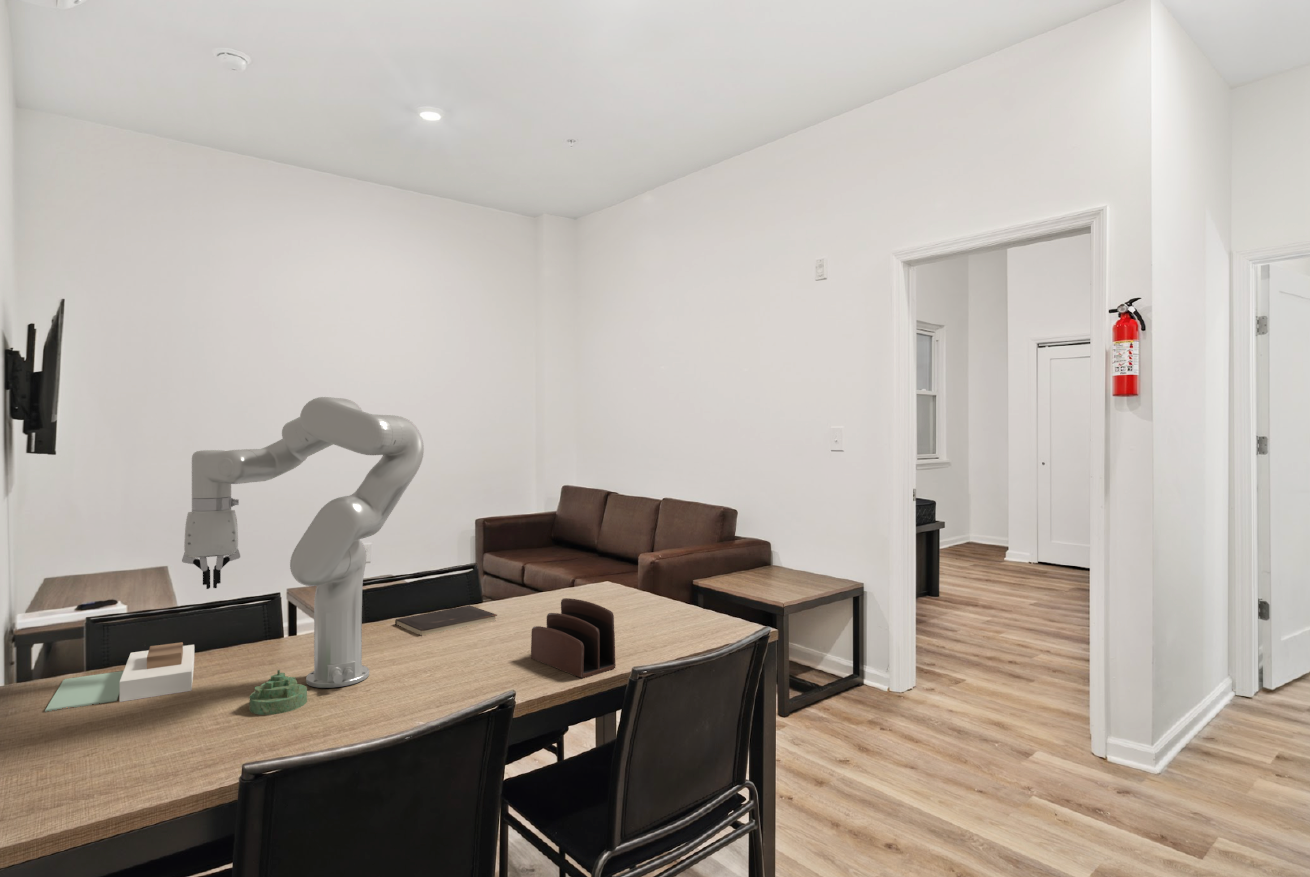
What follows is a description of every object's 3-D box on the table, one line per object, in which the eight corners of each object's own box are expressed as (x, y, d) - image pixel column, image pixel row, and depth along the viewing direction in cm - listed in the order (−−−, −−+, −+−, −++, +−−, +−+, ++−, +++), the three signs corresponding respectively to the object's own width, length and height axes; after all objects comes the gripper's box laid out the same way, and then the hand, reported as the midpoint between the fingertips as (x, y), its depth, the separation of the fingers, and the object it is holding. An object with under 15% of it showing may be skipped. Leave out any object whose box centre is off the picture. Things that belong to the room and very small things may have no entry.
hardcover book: (497, 622, 203) (497, 614, 203) (421, 638, 187) (421, 630, 187) (468, 612, 215) (468, 604, 215) (395, 626, 198) (395, 618, 198)
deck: (191, 690, 147) (191, 671, 147) (119, 702, 141) (119, 682, 141) (194, 661, 166) (194, 644, 166) (130, 670, 159) (130, 652, 159)
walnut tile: (181, 664, 151) (181, 652, 151) (146, 669, 148) (146, 657, 148) (182, 653, 159) (182, 642, 159) (150, 657, 156) (150, 646, 156)
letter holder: (563, 650, 176) (563, 593, 176) (616, 669, 162) (616, 608, 162) (530, 659, 169) (530, 600, 169) (582, 680, 155) (582, 615, 155)
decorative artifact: (316, 696, 144) (268, 696, 145) (316, 662, 144) (268, 661, 145) (289, 716, 134) (238, 715, 135) (289, 679, 134) (238, 678, 135)
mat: (116, 700, 141) (116, 698, 141) (45, 712, 135) (45, 710, 135) (127, 672, 158) (127, 670, 158) (64, 681, 152) (64, 679, 152)
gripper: (250, 502, 165) (250, 581, 165) (171, 505, 157) (171, 588, 157) (251, 505, 159) (251, 587, 159) (169, 508, 151) (169, 594, 151)
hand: (211, 587), depth 158 cm, fingers closed
